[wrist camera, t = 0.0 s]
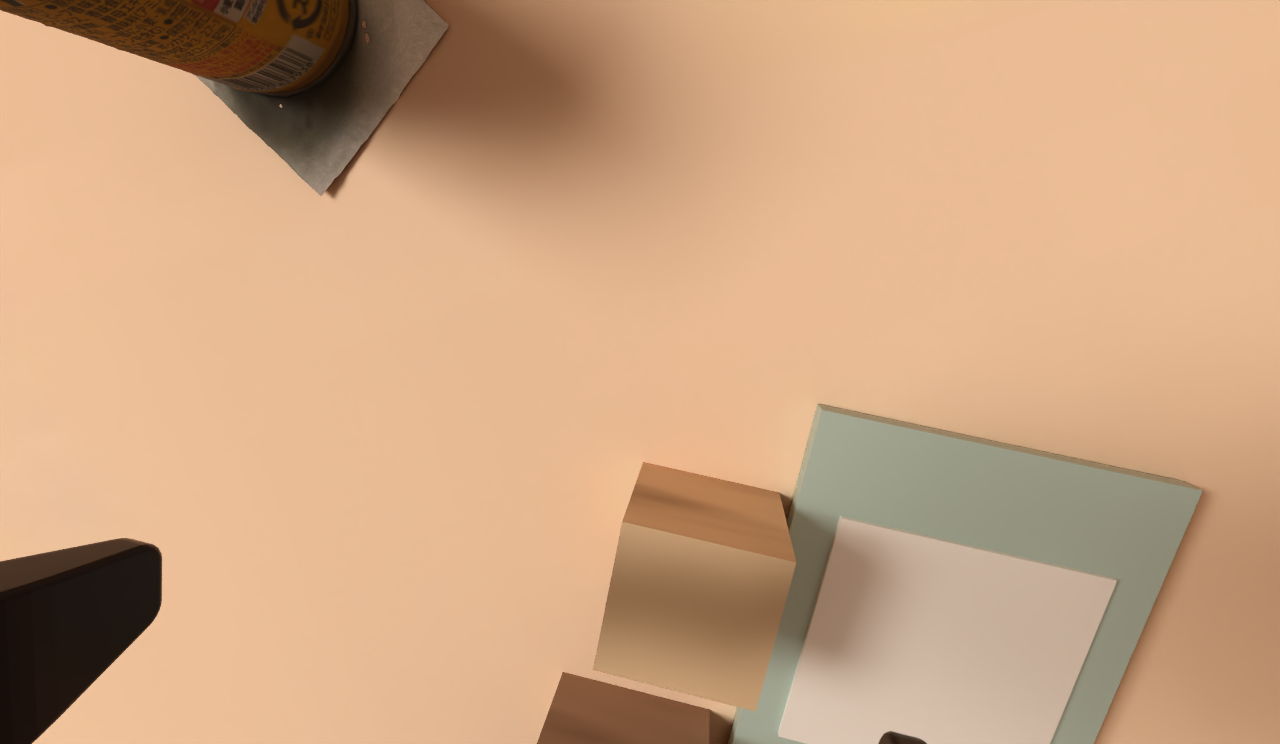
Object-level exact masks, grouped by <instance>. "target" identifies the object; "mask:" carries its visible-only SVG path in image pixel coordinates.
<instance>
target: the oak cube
mask: <svg viewBox="0 0 1280 744" xmlns="http://www.w3.org/2000/svg"><path fill="white" fill-rule="evenodd" d="M795 566H796V559H795V555H794V550H793V546H792V542H791V538H790V534H789V530H788V526H787V522H786V518H785V514H784V509H783V505H782V501H781V497H780V493H778V492H774V491H769V490H765V489H760V488H756V487H751V486H747V485H743V484H738V483H734V482H729V481H725V480H720V479H716V478H711V477H707V476H703V475H698V474H694V473H689V472H685V471H680V470H676V469H671V468H667V467H663V466H658V465H654V464H649V463H645V462H643V464H642V467H641V470H640V473H639V476H638V479H637V481H636V484H635V487H634V490H633V493H632V496H631V499H630V502H629V504H628V507H627V510H626V513H625V516H624V519H623V522H622V526H621V532H620V537H619V542H618V547H617V552H616V557H615V562H614V567H613V572H612V577H611V582H610V587H609V592H608V597H607V602H606V607H605V612H604V617H603V623H602V628H601V633H600V638H599V643H598V648H597V653H596V658H595V663H594V668H593V670H596V671H600V672H604V673H608V674H612V675H616V676H620V677H624V678H627V679H631V680H635V681H639V682H643V683H647V684H651V685H655V686H659V687H663V688H666V689H670V690H674V691H678V692H682V693H686V694H690V695H694V696H698V697H701V698H705V699H709V700H713V701H717V702H721V703H725V704H729V705H733V706H736V707H740V708H744V709H748V710H752V711H756V709H757V705H758V701H759V698H760V694H761V690H762V687H763V683H764V679H765V676H766V672H767V668H768V665H769V661H770V657H771V654H772V650H773V647H774V643H775V639H776V636H777V632H778V628H779V625H780V621H781V617H782V614H783V610H784V606H785V603H786V599H787V595H788V592H789V588H790V584H791V581H792V577H793V573H794V570H795Z"/></svg>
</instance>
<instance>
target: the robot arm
mask: <svg viewBox="0 0 1280 744" xmlns="http://www.w3.org/2000/svg"><path fill="white" fill-rule="evenodd" d="M161 601H162V555H161V552H160V550H159V548H158V547H156V546H155V545H153V544H149V543H145V542H141V541H137V540H133V539H128V538H120V539H114V540H109V541H104V542H99V543H93V544H88V545H83V546H78V547H73V548H68V549H63V550H57V551H52V552H47V553H42V554H37V555H32V556H26V557H21V558H16V559H11V560H6V561H1V562H0V744H32V743H33V742H34V741H35V740H36V739H37V738H38V737H39V736H40V735H41V734H43V733H44V732H45V731H46V730H47V729H48V728H49V727H50V726H51V725H52V724H53V723H54V722H55V721H56V720H57V719H58V718H59V717H60V716H61V715H62V714H63V713H64V712H65V711H66V710H67V709H68V708H69V707H70V706H71V705H72V704H73V703H74V702H75V701H76V700H77V699H78V698H79V697H80V696H81V694H82V693H83V692H84V691H85V690H86V689H87V688H88V687H89V686H90V685H91V684H92V683H93V682H94V681H95V680H96V679H97V678H98V677H99V676H100V675H101V674H102V673H103V672H104V671H105V670H106V669H107V668H108V667H109V666H110V665H111V664H112V663H113V662H114V661H115V660H116V659H117V658H118V657H119V656H120V655H121V654H122V653H123V652H124V651H125V650H126V649H127V648H128V647H129V646H130V645H131V644H132V643H133V642H134V641H135V640H136V639H137V638H138V637H139V636H140V635H141V634H142V633H143V632H144V631H145V629H146V628H147V627H148V626H149V625H150V624H151V623H152V622H153V620H154V619H155V617H156V616H157V614H158V612H159V610H160V606H161ZM879 744H927V743H926V742H925V741H923V740H922V739H920V738H917V737H913V736H909V735H905V734H901V733H897V732H893V731H889V732H886V733H884V734H883V736H882V737H881V739H880V741H879Z"/></svg>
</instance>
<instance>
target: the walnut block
mask: <svg viewBox="0 0 1280 744" xmlns="http://www.w3.org/2000/svg"><path fill="white" fill-rule="evenodd" d="M709 731H710V710H709V709H705V708H701V707H697V706H693V705H689V704H685V703H681V702H678V701H674V700H670V699H666V698H662V697H658V696H654V695H650V694H646V693H643V692H639V691H635V690H631V689H627V688H623V687H619V686H615V685H611V684H608V683H604V682H600V681H596V680H592V679H588V678H584V677H580V676H576V675H573V674H569V673H565V672H563V673H562V676H561V679H560V682H559V684H558V687H557V690H556V693H555V696H554V698H553V701H552V704H551V707H550V709H549V712H548V715H547V718H546V720H545V723H544V726H543V729H542V731H541V734H540V737H539V740H538V742H537V744H709Z"/></svg>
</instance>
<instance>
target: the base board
mask: <svg viewBox="0 0 1280 744" xmlns="http://www.w3.org/2000/svg"><path fill="white" fill-rule="evenodd" d="M1202 492H1203V491H1202V490H1200V489H1198V488H1196V487H1194V486H1192V485H1190V484H1188V483H1186V482H1185V481H1181V480H1176V479H1171V478H1166V477H1162V476H1157V475H1152V474H1148V473H1143V472H1138V471H1133V470H1129V469H1124V468H1119V467H1114V466H1110V465H1105V464H1100V463H1096V462H1091V461H1086V460H1081V459H1077V458H1072V457H1067V456H1063V455H1058V454H1053V453H1048V452H1044V451H1039V450H1034V449H1029V448H1025V447H1020V446H1015V445H1011V444H1006V443H1001V442H996V441H992V440H987V439H982V438H978V437H973V436H968V435H963V434H959V433H954V432H949V431H944V430H940V429H935V428H930V427H926V426H921V425H916V424H911V423H907V422H902V421H897V420H893V419H888V418H883V417H878V416H874V415H869V414H864V413H859V412H855V411H850V410H845V409H841V408H836V407H831V406H826V405H822V404H818V406H817V410H816V414H815V417H814V421H813V425H812V429H811V432H810V436H809V440H808V444H807V448H806V451H805V455H804V459H803V463H802V466H801V470H800V474H799V478H798V481H797V485H796V489H795V493H794V497H793V500H792V504H791V508H790V512H789V515H788V519H787V526H788V530H789V534H790V538H791V542H792V546H793V550H794V555H795V559H796V566H795V570H794V573H793V577H792V581H791V584H790V588H789V592H788V595H787V599H786V603H785V606H784V610H783V614H782V617H781V621H780V625H779V628H778V632H777V636H776V639H775V643H774V647H773V650H772V654H771V657H770V661H769V665H768V668H767V672H766V676H765V679H764V683H763V687H762V690H761V694H760V698H759V701H758V705H757V709H756V711H752V710H748V709H744V708H740V707H737V711H736V715H735V719H734V723H733V726H732V730H731V734H730V738H729V741H728V744H879V741H880V739H881V737H882V736H883V734H884V733H886V732H889V731H893V732H897V733H901V734H905V735H909V736H913V737H917V738H920V739H922V740H923V741H925V742H926V743H927V744H1094V742H1095V740H1096V737H1097V735H1098V733H1099V730H1100V728H1101V726H1102V723H1103V721H1104V719H1105V716H1106V714H1107V712H1108V709H1109V707H1110V705H1111V702H1112V700H1113V698H1114V696H1115V693H1116V691H1117V689H1118V686H1119V684H1120V682H1121V679H1122V677H1123V675H1124V672H1125V670H1126V668H1127V665H1128V663H1129V661H1130V658H1131V656H1132V654H1133V652H1134V649H1135V647H1136V645H1137V642H1138V640H1139V638H1140V635H1141V633H1142V631H1143V628H1144V626H1145V624H1146V621H1147V619H1148V617H1149V614H1150V612H1151V610H1152V607H1153V605H1154V603H1155V601H1156V598H1157V596H1158V594H1159V591H1160V589H1161V587H1162V584H1163V582H1164V580H1165V577H1166V575H1167V573H1168V570H1169V568H1170V566H1171V563H1172V561H1173V559H1174V557H1175V554H1176V552H1177V550H1178V547H1179V545H1180V543H1181V540H1182V538H1183V536H1184V533H1185V531H1186V529H1187V526H1188V524H1189V522H1190V519H1191V517H1192V515H1193V513H1194V510H1195V508H1196V506H1197V503H1198V501H1199V499H1200V496H1201V494H1202Z"/></svg>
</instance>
